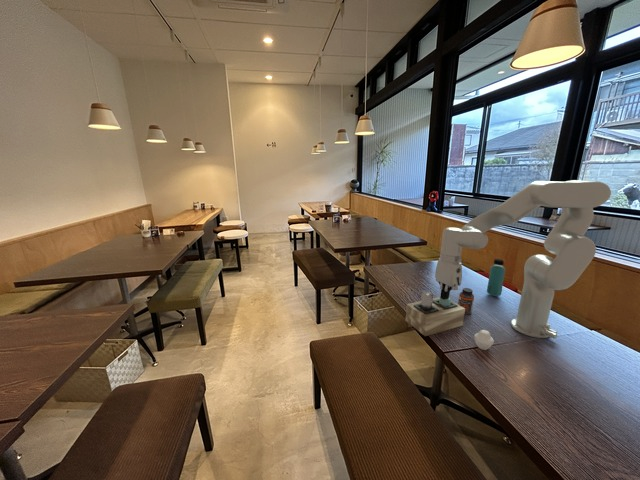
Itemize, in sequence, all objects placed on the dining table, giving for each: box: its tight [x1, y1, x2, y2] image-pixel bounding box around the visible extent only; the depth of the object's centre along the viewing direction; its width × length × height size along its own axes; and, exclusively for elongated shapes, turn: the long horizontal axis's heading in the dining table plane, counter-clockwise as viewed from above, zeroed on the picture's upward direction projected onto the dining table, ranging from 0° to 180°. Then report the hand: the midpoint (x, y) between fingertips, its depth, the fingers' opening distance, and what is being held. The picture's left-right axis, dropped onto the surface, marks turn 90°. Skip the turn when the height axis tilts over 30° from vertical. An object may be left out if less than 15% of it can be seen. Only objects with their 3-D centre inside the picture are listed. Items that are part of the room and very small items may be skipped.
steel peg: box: [420, 291, 434, 311], centre depth 107 cm, size 4×4×8 cm
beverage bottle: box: [486, 258, 506, 297], centre depth 132 cm, size 6×7×20 cm
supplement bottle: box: [457, 287, 475, 315], centre depth 118 cm, size 6×6×11 cm
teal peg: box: [439, 297, 452, 307], centre depth 111 cm, size 4×4×8 cm
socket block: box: [405, 296, 466, 337], centre depth 110 cm, size 12×20×9 cm, turn 110°
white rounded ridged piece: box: [473, 329, 495, 351], centre depth 95 cm, size 6×6×7 cm
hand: (444, 298), depth 110 cm, fingers closed
